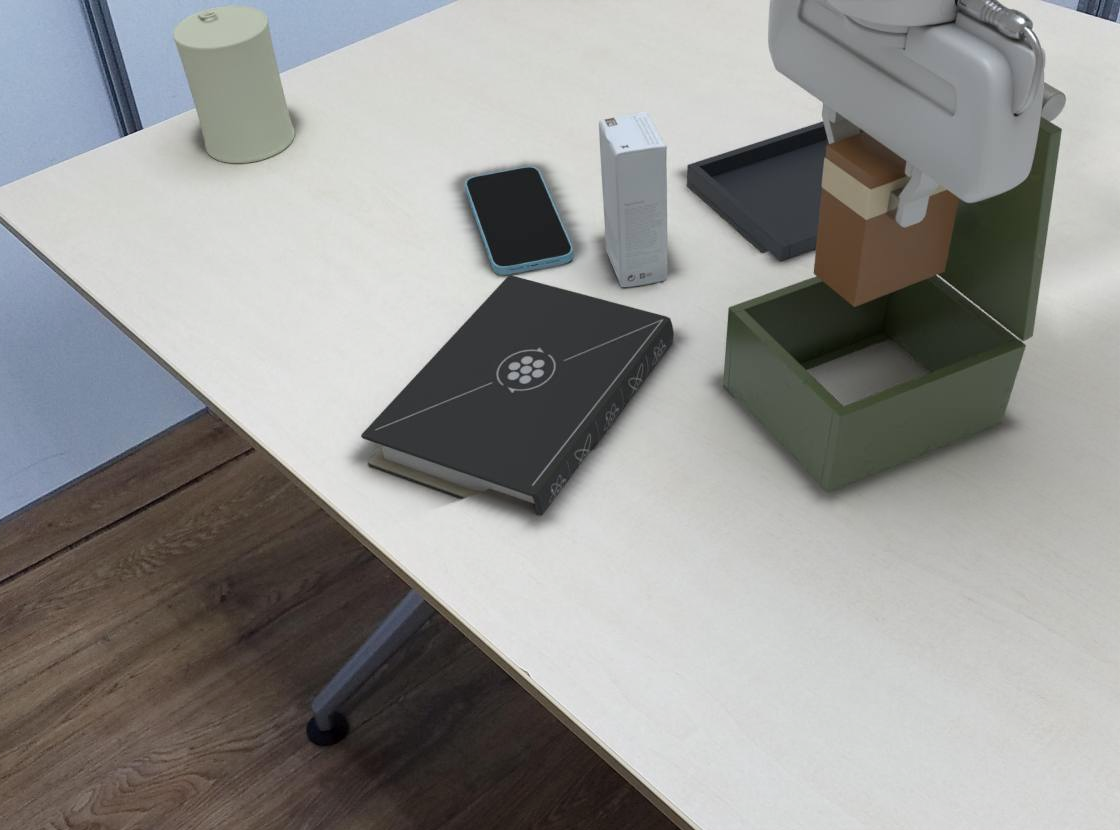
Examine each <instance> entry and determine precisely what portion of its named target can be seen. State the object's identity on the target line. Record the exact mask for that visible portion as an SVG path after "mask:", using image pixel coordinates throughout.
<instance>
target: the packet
mask: <svg viewBox="0 0 1120 830" xmlns="http://www.w3.org/2000/svg"><path fill="white" fill-rule="evenodd" d="M906 162H907V161H906V160H904V159H903V158H901V157H900V156H898V155H897V154H896V153H894V152H893V151H891V150H890V149H888V148H887V147H886V146H884V145H883V144H881V143H880V142H878V141H877V140H876V139H874V138H873V137H871V136H870V135H868V134H867V133H866V132H862V133H859V134H856V135H853V136H851V137H848V138H845V139H842V140H839V141H837V142H834V143H831V144H828V145H827V146H826V156H825V158H824V166H823V176H822V195H821V205H820V215H819V224H818V234H817V244H816V249H815V255H814V263H813V275H814V276H815V277H816V276H817V277H818V278H820V279H821V280H822V281H823V282H824V283H826V284H827V285H828V286H829V287H830V288H832V289H833V290H834V291H835V292H837V293H838V294H839V295H840V296H841V297H843V298H844V299H845V300H846V301H848V302H849V303H850V304H851V305H852V306H854V307H856V306H859V305H861V304H864V303H866V302H869V301H871V300H874V299H877V298H879V297H882V296H884V295H887V294H889V293H892V292H894V291H897V290H899V289H902V288H904V287H907V286H910V285H912V284H915V283H917V282H920V281H922V280H925V279H927V278H930V277H932V276H935V275H937V276H938V274H940V273H943V272H944V271H945V267H946V262H947V257H948V252H949V247H950V242H951V237H952V232H953V227H954V222H955V217H956V212H957V207H958V202H959V198H958V197H957V196H955V195H954V194H953V193H951V192H950V191H948V190H947V189H946V188H944V187H943V186H941V185H939V186H938V188H937V189H936V190H935V191H934V192H933V193H932V194H931V195H930V196H929V201H928V206H927V211H926V215H925V217H924V218H923V220H922V221H921V222H919V223H916V224H914V225H911V226H908V227H905V228H904V227H901V226H900V225H899V224H898V223H896V222H895V221H894V220H893V219H891V218H890V217H889V216H888V215H887V213H886V212H887V209H888V207H889V204H888V202H889V196H890V192H891V191H894V190H897V189H900V188H904V187H905V186H906V185H907V184H908V182H909V181H910V180H911V177H908V176H907V175H906V174H905V168H906Z"/></svg>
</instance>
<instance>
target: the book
mask: <svg viewBox="0 0 1120 830" xmlns="http://www.w3.org/2000/svg"><path fill="white" fill-rule="evenodd" d="M673 326H674V325H673V323H672V320H671V318H670V317H669V316H666V315H663V314H659V313H655V312H652V311H647V310H644V309H640V308H636V307H634V306H633V307H632V306H630V305H625V304H621V303H617V302H614V301H611V300H605V299H602V298H599V297H595V296H591V295H587V294H583V293H579V292H576V291H572V290H568V289H564V288H561V287H557V286H553V285H550V284H546V283H541V282H538V281H535V280H530V279H527V278H524V277H523V278H522V277H520V276H516V275H513V274H508V276H507V277H505V279H504V280H503V281H502V282H501V283H500V284H499V285H498V286H497V287H496V288H495V290H494V291H493V292H492V293H491V294H490V295H489V296H488V297H487V298H486V299H485V300H484V302H482V304H480V305H479V307H478V308H477V309H476V310H475V311H473V313H472V314H471V315H470V317H469V318H468V319H466V321H465V322H464V323H463V324H462V325H461V326H460V327H459V328H458V329H457V331H456V332H455V333H454V334H453V335H452V336H451V337H450V338H449V339H448V340H447V341H446V342H445V343H444V344H443V345H442V347H441V348H440V349H439V350H438V351H437V352H436V353H435V354H434V355H433V356H432V358H431V359H429V361H428V362H426V364H425V365H424V366H423V367H422V368H421V370H419V372H417V374H416V375H415V376H413V378H412V379H411V380H410V381H409V382H408V383H407V384H406V386H405V387H404V388H403V389H402V390H401V391H400V392H399V393H398V394H397V395H396V396H395V397H394V399H392V401H391V402H390V403H389V404H387V406H386V407H385V408H384V409H383V410H382V411H381V413H380V414H379V415H378V416H377V417H376V418H375V419H374V420H373V421H372V422H371V424H369V426H368V427H367V428H366V429H365V430H364V431H363V432H361V434H360V435H361V436H360V437H361V438H362V439H363V440H366V441H369V442H371V443H375V444H378V445H380V446H381V447H380V448H379V449H378V450H377V452H375V454H374V455H373V456H372V457H371V458H370V459H369V460H368V461H367V466H369V467H371V468H374V469H377V470H379V471H383V472H386V473H388V474H391V475H393V476H396V477H399V478H402V479H405V480H408V481H411V482H414V483H415V484H419V485H422V486H425V487H427V488H429V489H433V490H436V491H439V492H442V493H444V494H447V495H450V496H453V497H456V498H458V499H461V500H464V499H467V498H470V497H472V496H474V495H477V494H480V493H483V492H485V491H488V490H493V491H496V492H499V493H502V494H504V495H507V496H510V497H513V498H516V499H519V500H521V501H525V502H528V503H530V504H533V505H534V506H535V516H543V515H544V513H545V512H546V511H547V509H548V508H549V507H550V506H551V504H552V503H553V501H554V500H555V499H556V497H557V496H558V494H559V493H560V492H561V491H562V489H563V488H564V487H565V485H566V484H567V482H568V481H569V480H570V478H571V477H572V476H573V475H574V473H575V472H576V471H577V469H578V468H579V466H580V465H581V464H582V463H583V461H584V460H585V458H586V457H587V456H588V454H589V453H590V452H592V451H593V450H595V448H596V446H597V445H598V444H599V442H600V441H601V439H602V438H603V437H604V436H605V434H606V433H607V431H608V430H609V429H610V428H611V426H612V425H613V424H614V422H615V421H616V419H617V418H618V417H619V415H620V414H621V413H622V412H623V410H624V409H625V407H626V406H627V405H628V403H629V402H630V400H631V399H632V398H633V396H634V395H635V394H636V393H637V391H638V390H639V388H640V387H641V386H642V384H643V383H644V382H645V380H646V379H647V378H648V376H649V375H650V374H651V372H652V371H653V369H654V368H655V367H656V366H657V364H658V362H660V360H661V359H662V358H663V356H664V355H665V354H666V352H667V351H668V350H669V348H670V347H671V345H672V344H673V341H674V336H675V335H674V333H675V332H674V327H673Z"/></svg>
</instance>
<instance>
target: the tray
mask: <svg viewBox="0 0 1120 830" xmlns="http://www.w3.org/2000/svg"><path fill="white" fill-rule="evenodd" d="M862 132H864V131H863V130H861V129H860V133H862ZM828 144H829V142H828V138H827V134H826V130H825V126H824V122H823V120H822V121H820V122H817V123H813V124H810V125H807V126H804V127H801V128H798V129H795V130H791V131H788V132H785V133H782V134H780V135H776V136H773V137H769V138H766V139H764V140H761V141H757V142H755V143H754V142H753V143H751V144H748V145H745V146H741V147H738V148H735V149H732V150H729V151H725V152H723V153H720V154H717V155H714V156H710V157H708V158H705V159H704V158H703V159H701V160H697V161H695V162H692V163H689V164H687V167H686V168H687V169H686V187H688V188H689V189H690V191H692V192H693V193H694V194H696V195H697V196H698V197H699V198H700V199H701V200H702V201H703V202H704V203H706V205H708V206H709V207H710V208H711V209H712V210H713V211H714V212H715V213H716V214H718V215H719V216H720V217H721V218H722V219H723V220H724V221H726V223H728V224H729V225H730V226H731V227H732V228H734V230H736V231H737V232H738V234H740V235H742V237H743V238H745V239H746V240H747V241H748V242H749V243H750V244H751V245H752V246H753V247H755V248H756V249H757V250H758V251H759V252H760V253H762V254H765V253H768V252H769V253H770V254H771V255H773V257H775V258H776V259H777V260H778V261H779V262H783V261H786V260H789V259H792V258H795V257H798V256H801V255H804V254H807V253H809V252H813V251H816V244H817V234H818V224H819V215H820V205H821V195H822V176H823V166H824V158H825V156H826V146H827V145H828Z"/></svg>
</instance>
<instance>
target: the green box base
mask: <svg viewBox="0 0 1120 830" xmlns="http://www.w3.org/2000/svg"><path fill="white" fill-rule="evenodd" d="M726 323H727V324H726V336H725V337H726V339H725V351H724V365H723V377H722V378H723V379H722V380H723V381H722V387H723V388H725V390H726V391H727V392H728V393H729V394H730V395H731V396H732V397H733V398H737V399H738V400H739V401H740V402H741V403H742V404H743V405H744V406H745V407H746V408H747V409H748V410H749V411H750V412H751V413H752V414H753V415H754V417H756V418H757V420H758V421H759V422H760V423H761V424H762V425H763V426H764V427H765V428H766V430H768V432H769V433H770V434H771V435H772V436H773V437H774V438H775V439H776V440H777V441H778V442H779V443H780V444H781V445H782V446H783V447H784V448H785V450H787V452H788V453H790V455H791V456H792V457H793V458H794V459H795V460H796V462H798V464H800V465H801V466H802V467H803V469H804V470H806V471H807V473H808V474H809V475H810V476H811V477H812V478H813V479H814V480H815V481H816V482H817V483H818V484H819V486H821V488H822V489H823V490H824V491H825V492H826V493H831V492H833V491H836V490H838V489H840V488H843V487H845V486H847V485H850V484H853V483H856V482H858V481H860V480H863V479H865V478H867V477H870V476H873V475H875V474H877V473H880V472H883V471H885V470H887V469H890V468H892V467H895V466H897V465H900V464H903V463H904V462H908V461H910V460H912V459H914V458H915V459H916V458H917V457H919V456H922V455H924V454H927V453H930V452H932V451H935V450H937V449H939V448H943V447H944V446H947V445H949V444H952V443H954V442H957V441H959V440H962V439H964V438H967V437H969V436H972V435H974V434H977V433H979V432H982V431H984V430H987V429H989V428H991V427H994V426H996V425H1000V424H1001V423H1003V421H1004V418H1005V415H1006V411H1007V408H1008V405H1009V402H1010V399H1011V395H1012V391H1013V390H1014V385H1015V382H1016V379H1017V376H1018V373H1019V369H1020V366H1021V363H1022V360H1023V357H1024V354H1025V351H1026V347H1027V345H1026V344H1025V343H1024V341H1022V340H1021V339H1019V338H1018V337H1017V336H1016V335H1014V334H1013V333H1012V332H1010V331H1009V330H1008V329H1007V328H1005V327H1004V326H1003V325H1001V324H1000V323H999V322H998V321H996V320H995V319H994V318H993V317H991V316H990V315H989V314H987V313H986V312H985V311H984V310H982V309H981V308H980V307H978V306H977V305H976V304H975V303H973V302H972V301H971V300H969V299H968V298H967V297H966V296H964V295H963V294H962V293H961V292H959V291H958V290H957V289H955V288H954V287H953V286H952V285H950V284H949V283H948V282H946V281H945V280H944V279H943V278H941V277H940V276H939V275H938V274H937V275H935V276H932V277H930V278H927V279H925V280H922V281H920V282H917V283H915V284H912V285H910V286H907V287H904V288H902V289H899V290H897V291H894V292H892V293H889V294H887V295H884V296H882V297H879V298H877V299H874V300H871V301H869V302H866V303H864V304H861V305H859V306H856V307H854V306H852V305H851V304H850V303H849V302H848V301H846V300H845V299H844V298H843V297H841V296H840V295H839V294H838V293H837V292H835V291H834V290H833V289H832V288H830V287H829V286H828V285H827V284H826V283H824V282H823V281H822V280H821V279H820V278H818V277H817V276H816V275H815V276H814V277H810V278H807V279H804V280H802V281H798V282H796V283H794V284H790V285H787V286H785V287H782V288H779V289H776V290H774V291H770V292H768V293H765V294H762V295H759V296H757V297H754V298H751V299H748V300H745V301H743V302H740V303H736V304H734V305H731V306H729V307H728V311H727V321H726ZM891 339H892V340H893V341H895V342H896V343H897V344H898V345H899V346H900V347H902V348H903V349H904V350H905V351H906V352H908V354H910V355H911V356H912V357H913V358H915V359H916V360H917V361H918V363H920V364H921V365H922V366H923V367H925V368H926V369H927V370H928V371H929V373H927V374H924V375H922V376H918V377H915V378H914V379H911V380H909V381H906V382H903V383H900V384H898V385H896V386H893V387H891V388H887V389H885V390H883V391H880V392H878V393H875V394H872V395H869V396H867V397H864V398H862V399H859V400H856V401H854V402H852V403H849V404H847V405H843V404H842V403H841V402H840V401H839V400H838V399H837V398H836V397H835V396H834V395H833V394H832V393H831V392H830V391H828V389H826V388H825V386H824V385H822V384H821V382H819V381H818V380H817V379H816V378H815V377H814V376H813V375H812V374H811V373H810V372H809V370H810V369H813V368H815V367H818V366H822V365H824V364H826V363H829V362H832V361H835V360H837V359H840V358H842V357H845V356H849V355H850V354H853V353H855V352H856V353H857V352H859V351H861V350H864V349H866V348H870V347H872V346H875V345H878V344H880V343H883V342H886V341H888V340H891Z"/></svg>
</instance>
